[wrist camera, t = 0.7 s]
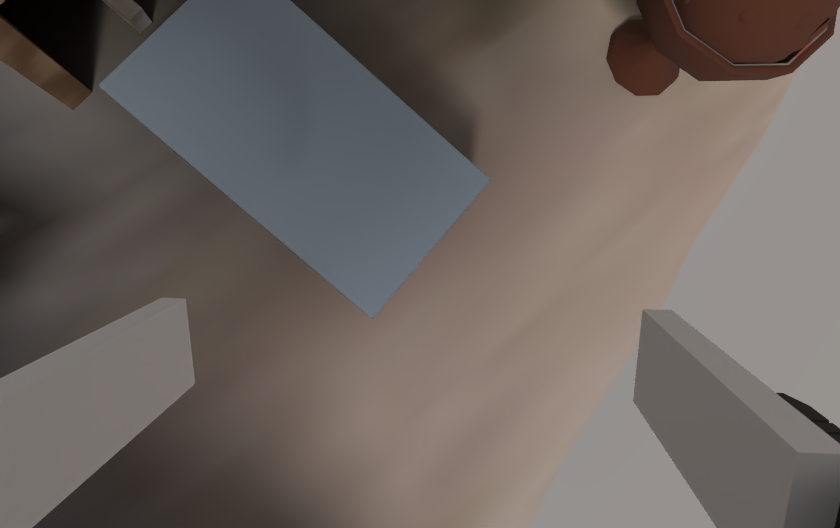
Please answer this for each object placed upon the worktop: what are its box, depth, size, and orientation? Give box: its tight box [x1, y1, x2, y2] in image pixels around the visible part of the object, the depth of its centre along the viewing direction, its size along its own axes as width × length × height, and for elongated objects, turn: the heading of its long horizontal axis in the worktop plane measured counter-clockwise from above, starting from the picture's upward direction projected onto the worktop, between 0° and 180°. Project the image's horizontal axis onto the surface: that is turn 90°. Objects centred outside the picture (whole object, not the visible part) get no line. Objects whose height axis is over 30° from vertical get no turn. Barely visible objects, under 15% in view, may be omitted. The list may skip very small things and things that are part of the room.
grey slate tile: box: [98, 0, 490, 319], centre depth 29 cm, size 10×18×5 cm, turn 49°
